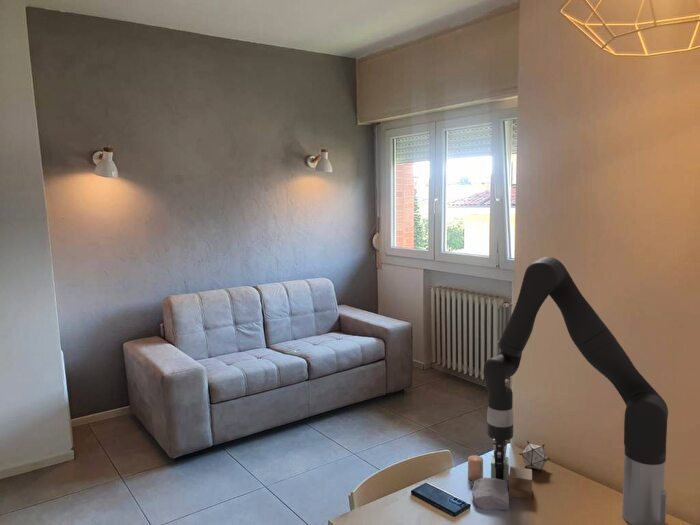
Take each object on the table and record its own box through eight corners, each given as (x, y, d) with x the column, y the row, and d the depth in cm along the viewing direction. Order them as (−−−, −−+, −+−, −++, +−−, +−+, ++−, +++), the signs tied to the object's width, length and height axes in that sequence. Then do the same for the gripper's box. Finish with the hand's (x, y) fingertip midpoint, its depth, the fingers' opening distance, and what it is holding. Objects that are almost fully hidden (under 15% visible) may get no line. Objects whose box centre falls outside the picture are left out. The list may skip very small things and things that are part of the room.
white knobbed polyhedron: (539, 478, 166) (559, 454, 165) (533, 481, 159) (554, 455, 158) (516, 457, 171) (535, 433, 170) (509, 458, 164) (529, 433, 163)
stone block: (475, 515, 145) (512, 511, 143) (471, 498, 145) (509, 494, 143) (473, 493, 157) (508, 489, 155) (470, 477, 156) (504, 473, 154)
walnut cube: (531, 488, 154) (531, 469, 153) (531, 500, 148) (532, 479, 148) (509, 486, 156) (510, 466, 155) (509, 497, 150) (509, 477, 149)
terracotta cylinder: (483, 475, 162) (483, 456, 161) (482, 482, 158) (482, 463, 157) (468, 473, 163) (468, 454, 163) (467, 480, 159) (467, 461, 159)
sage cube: (508, 472, 163) (508, 457, 162) (508, 481, 158) (508, 465, 158) (491, 470, 164) (491, 455, 164) (490, 478, 160) (491, 463, 159)
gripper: (512, 432, 151) (512, 488, 153) (513, 412, 165) (513, 464, 167) (485, 429, 154) (485, 485, 156) (488, 410, 167) (488, 461, 169)
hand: (499, 474), depth 161 cm, fingers closed on sage cube, 5 cm apart
